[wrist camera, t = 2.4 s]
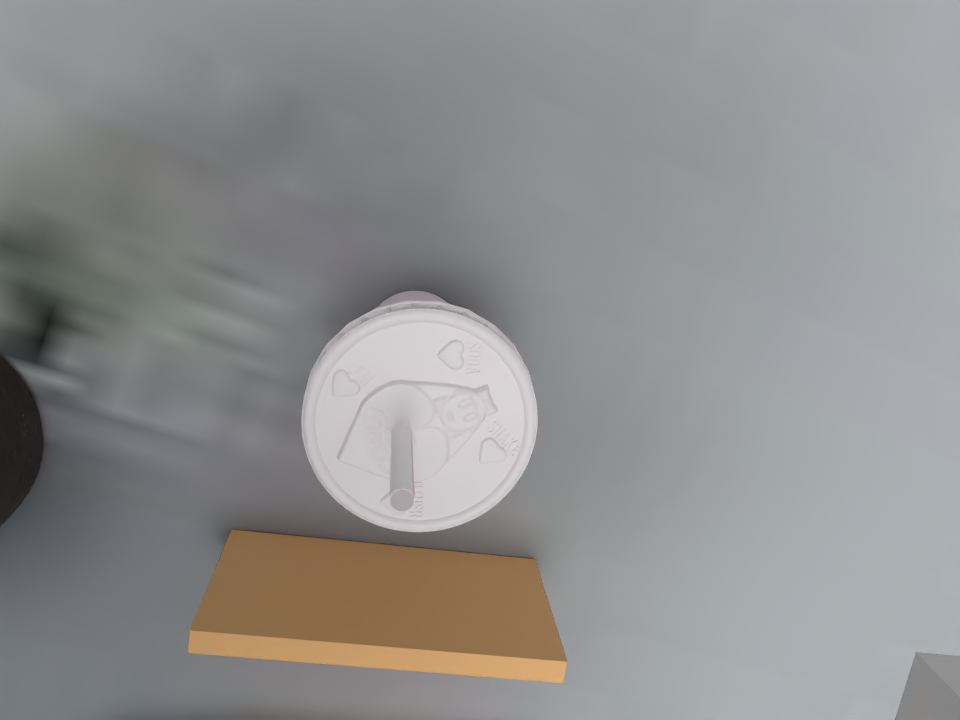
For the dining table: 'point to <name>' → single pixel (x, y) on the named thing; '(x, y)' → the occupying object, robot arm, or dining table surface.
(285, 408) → the dining table surface
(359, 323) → the smoothie
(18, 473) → the container
